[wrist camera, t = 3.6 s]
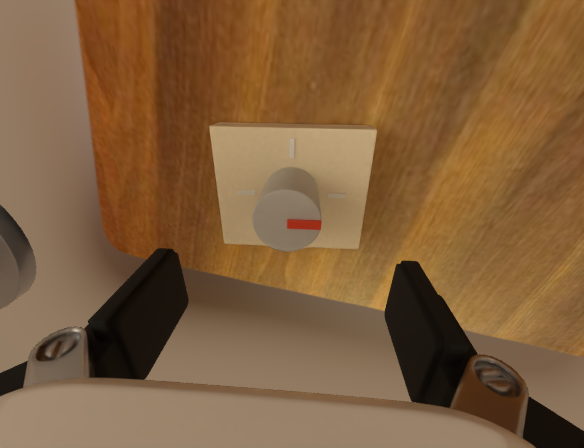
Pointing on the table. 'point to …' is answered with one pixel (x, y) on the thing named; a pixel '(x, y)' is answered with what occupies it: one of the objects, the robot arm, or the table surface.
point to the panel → (300, 154)
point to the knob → (288, 210)
